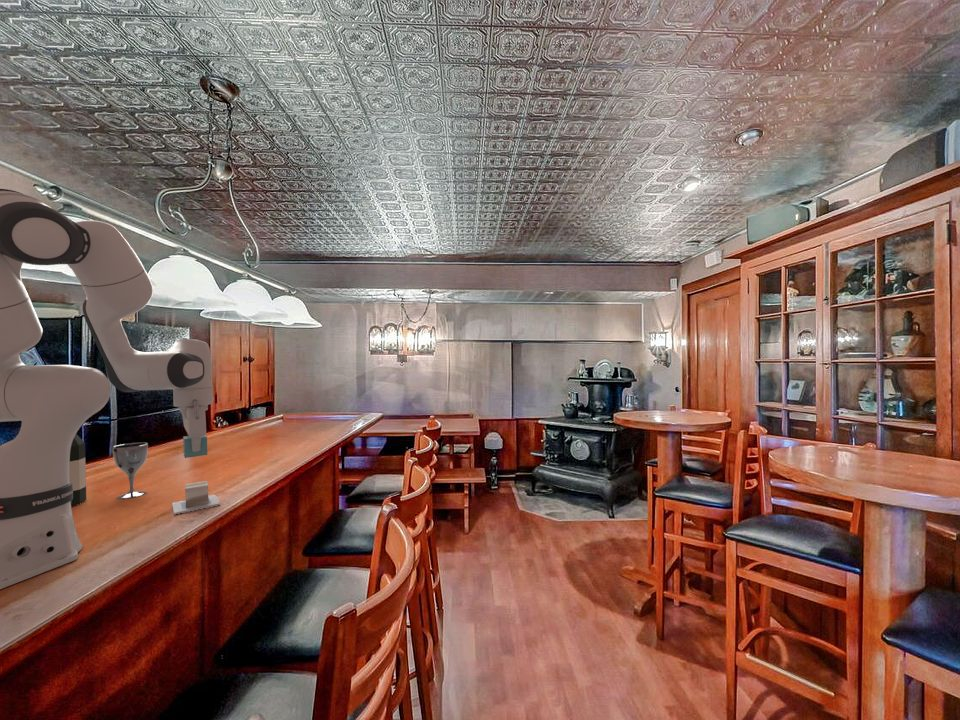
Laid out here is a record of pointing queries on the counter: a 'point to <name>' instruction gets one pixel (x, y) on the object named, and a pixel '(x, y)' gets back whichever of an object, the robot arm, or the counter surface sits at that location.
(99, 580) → the counter surface
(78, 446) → the wine bottle
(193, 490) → the off-white block
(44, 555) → the robot arm
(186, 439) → the teal block
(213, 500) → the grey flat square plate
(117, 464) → the wine glass
